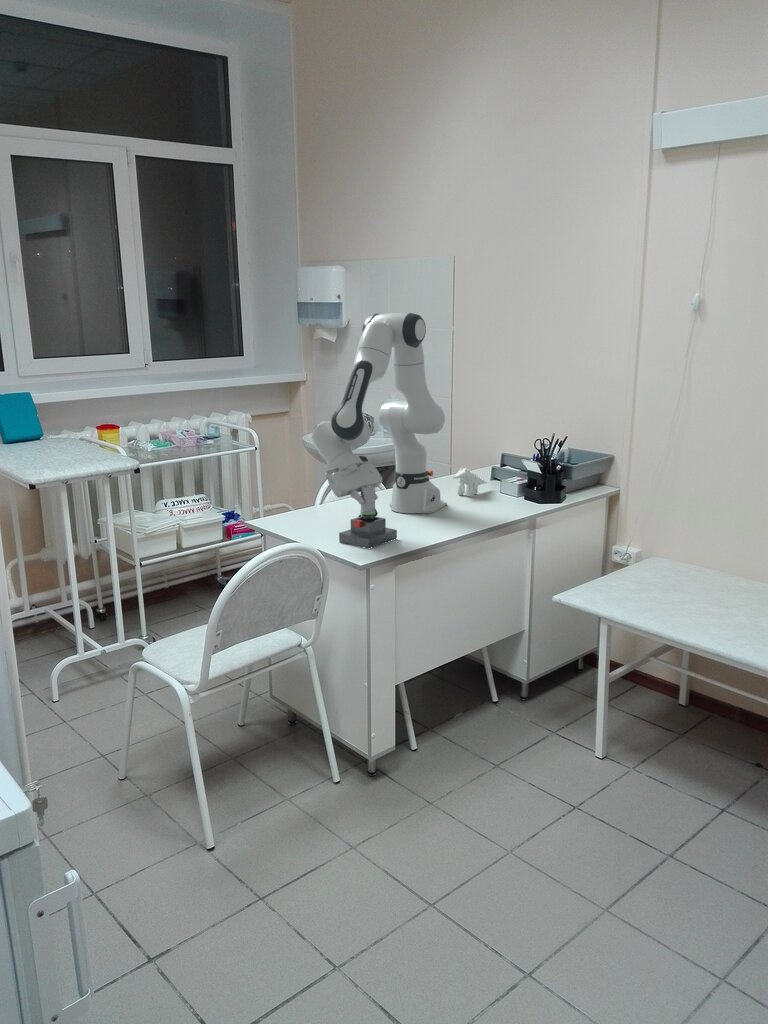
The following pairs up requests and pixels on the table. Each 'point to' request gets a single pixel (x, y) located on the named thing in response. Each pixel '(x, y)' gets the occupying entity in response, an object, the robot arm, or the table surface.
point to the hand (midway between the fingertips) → (369, 501)
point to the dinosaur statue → (468, 482)
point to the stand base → (367, 533)
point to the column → (368, 503)
